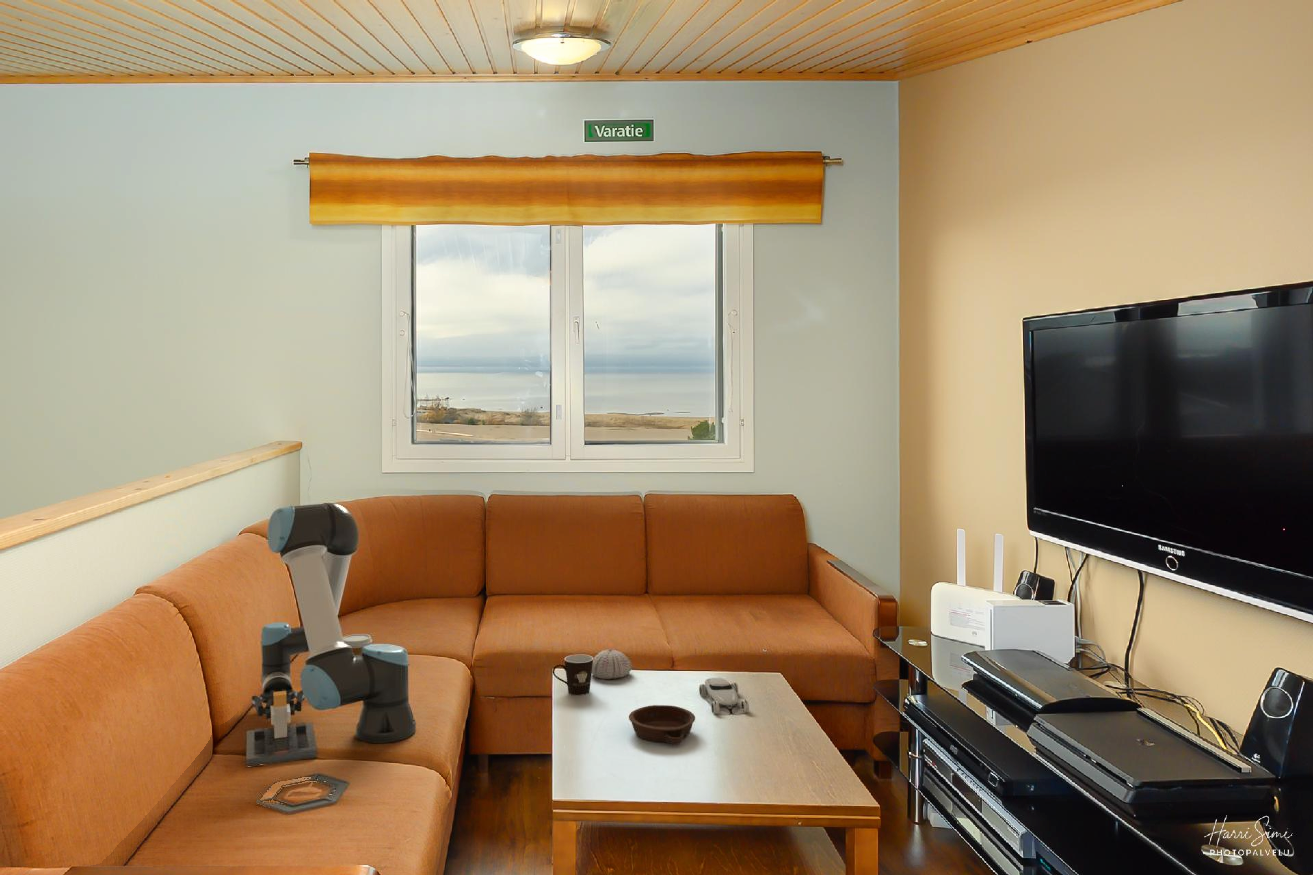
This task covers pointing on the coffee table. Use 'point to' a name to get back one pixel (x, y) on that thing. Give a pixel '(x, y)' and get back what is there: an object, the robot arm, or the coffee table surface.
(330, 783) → the hexagonal plaque
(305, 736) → the panel
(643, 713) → the dish
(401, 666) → the robot arm
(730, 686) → the car model
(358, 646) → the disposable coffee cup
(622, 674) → the sea urchin shell
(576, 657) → the coffee mug
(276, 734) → the breaker lever
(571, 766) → the coffee table surface
